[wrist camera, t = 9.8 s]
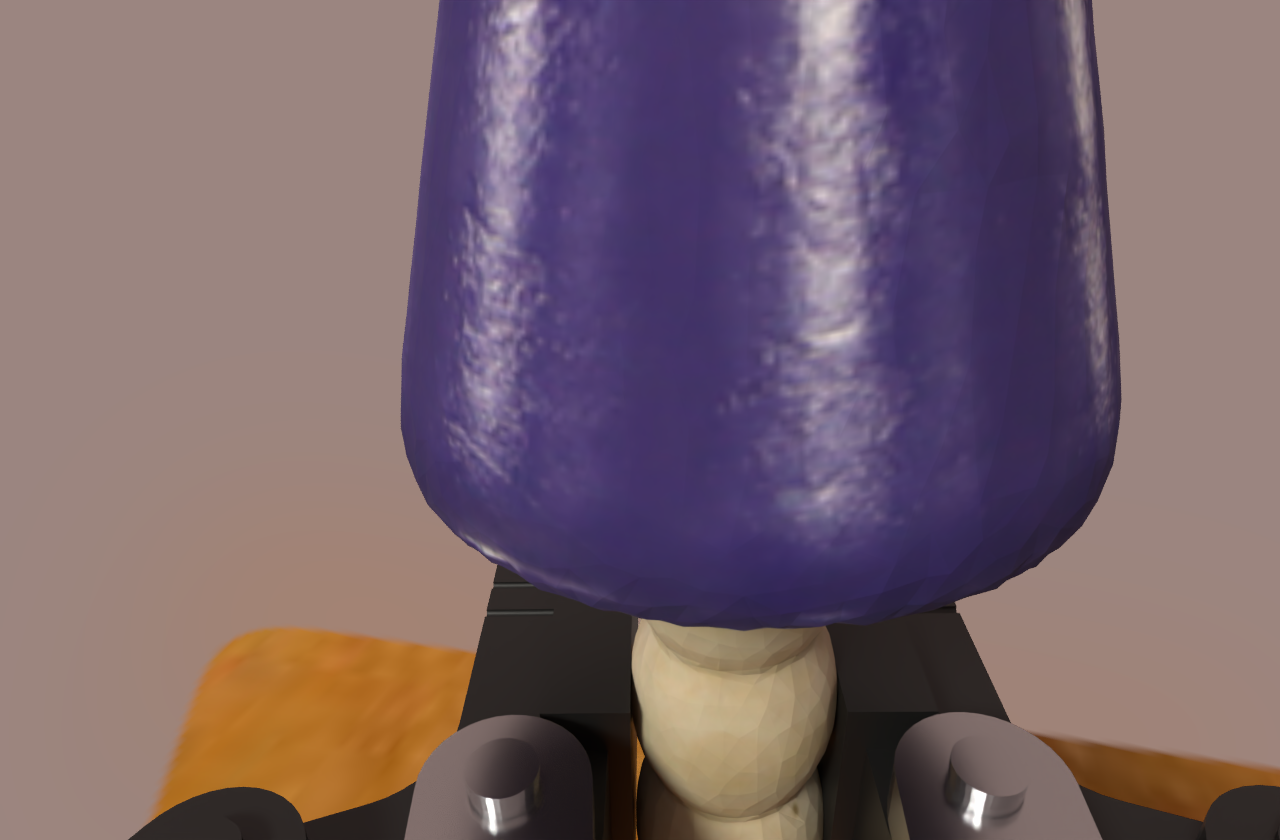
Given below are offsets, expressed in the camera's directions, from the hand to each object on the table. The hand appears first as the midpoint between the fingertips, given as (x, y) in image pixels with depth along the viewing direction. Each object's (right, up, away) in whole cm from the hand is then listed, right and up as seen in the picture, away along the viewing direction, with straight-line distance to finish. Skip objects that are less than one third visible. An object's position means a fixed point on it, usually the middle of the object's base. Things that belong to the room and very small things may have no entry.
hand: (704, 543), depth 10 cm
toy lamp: (0, -10, +2) cm, 10 cm away
